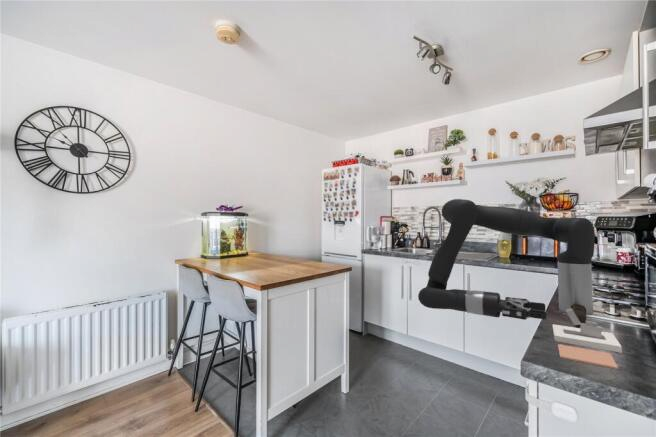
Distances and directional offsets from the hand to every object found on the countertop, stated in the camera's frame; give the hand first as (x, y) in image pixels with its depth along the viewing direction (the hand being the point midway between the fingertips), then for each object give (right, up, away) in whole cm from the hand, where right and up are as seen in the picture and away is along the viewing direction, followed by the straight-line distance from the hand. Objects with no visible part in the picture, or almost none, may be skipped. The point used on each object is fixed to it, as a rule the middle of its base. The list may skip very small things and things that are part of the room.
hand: (545, 311), depth 83 cm
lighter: (+7, -6, -5) cm, 11 cm away
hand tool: (+17, -7, +7) cm, 20 cm away
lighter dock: (+7, -6, -5) cm, 10 cm away
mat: (-1, -6, -14) cm, 16 cm away
